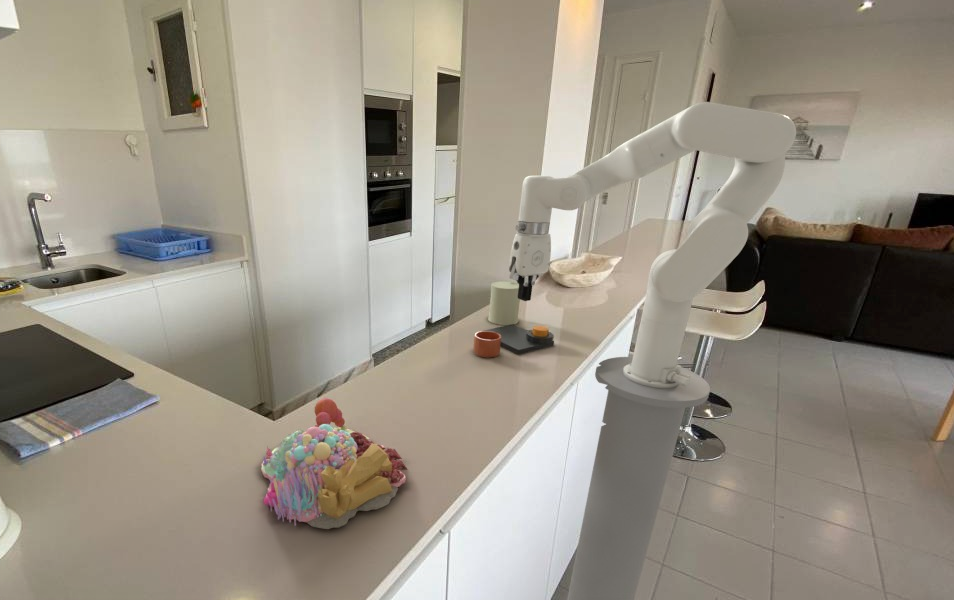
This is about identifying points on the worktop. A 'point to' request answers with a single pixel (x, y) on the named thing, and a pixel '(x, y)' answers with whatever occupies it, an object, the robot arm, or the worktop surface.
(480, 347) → the bowl
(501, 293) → the can
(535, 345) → the scale
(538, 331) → the button
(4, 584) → the worktop surface
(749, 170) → the robot arm
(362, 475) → the dessert platter
